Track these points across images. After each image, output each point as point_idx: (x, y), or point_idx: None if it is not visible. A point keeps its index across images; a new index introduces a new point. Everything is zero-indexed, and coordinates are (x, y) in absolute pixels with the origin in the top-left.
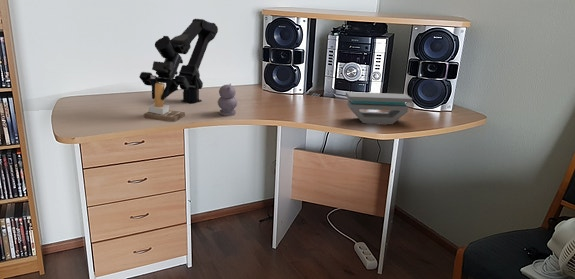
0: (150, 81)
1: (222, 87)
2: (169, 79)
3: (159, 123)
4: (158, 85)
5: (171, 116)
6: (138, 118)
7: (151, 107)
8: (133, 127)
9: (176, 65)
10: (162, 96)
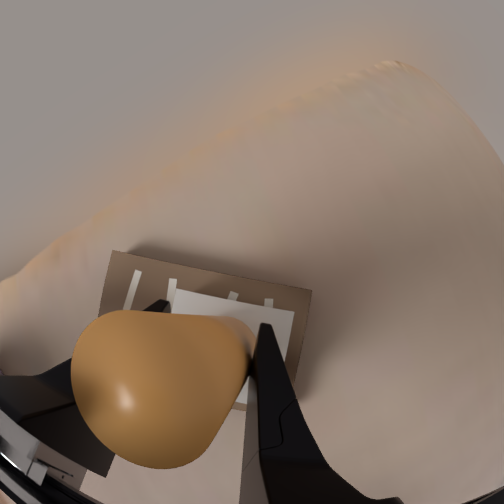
0: (352, 488)
1: None
2: (31, 491)
3: (191, 207)
4: (135, 310)
5: (134, 268)
6: (331, 272)
7: (268, 308)
8: (292, 135)
9: None
10: (150, 311)
